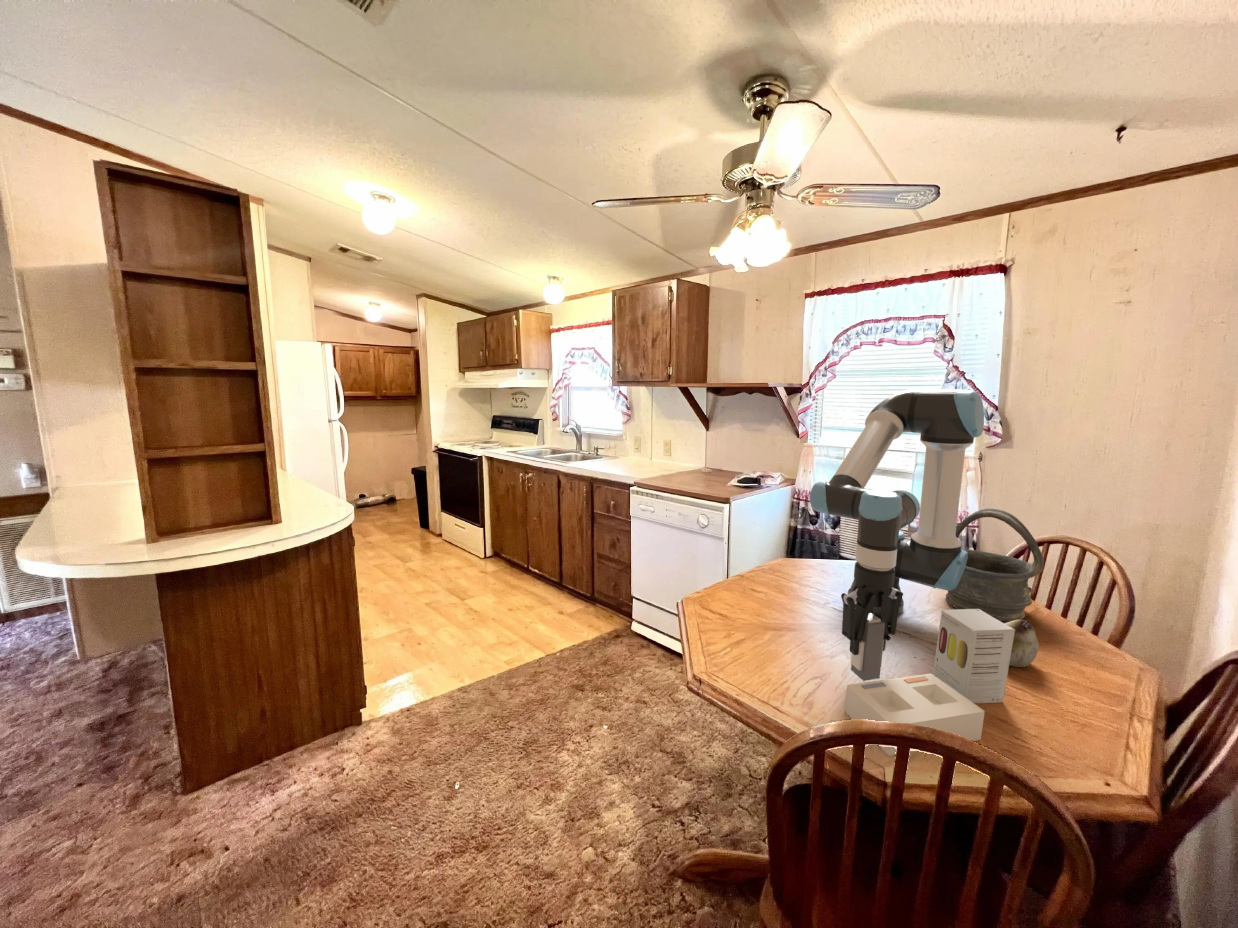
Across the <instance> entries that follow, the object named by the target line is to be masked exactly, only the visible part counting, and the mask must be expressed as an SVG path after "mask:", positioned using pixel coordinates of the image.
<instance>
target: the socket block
mask: <svg viewBox="0 0 1238 928" xmlns="http://www.w3.org/2000/svg"><path fill="white" fill-rule="evenodd" d="M844 705H845V706H844V713H845V714H846V715H847V716H848V715H849V716H848V717H849V718H850V719H868V720H875V721H889V722H897V723H909V724H914V725H919V726H924V727H930V728H935V729H939V730H942V731H947V732H950V733H955V734H956V735H960V736H961V737H964V738H967V739H969V740H973V741H972V742H976V741H981V739H982V733H983V725H984V721H985V720H984V719H985V713H986V711H985V710H984V709H983V708H982V707H980V706H978V705H977V704H976V703H975V704H974V703H972V702H971V701H970V700H968V699H967V698H965V697H964V696H962V695H961V694H960V693H958V692H957V691H955V690H954V689H953V688H951V687H950V686H948V685H947V684H945V683H944V682H943V681H941V680H940V679H938V678H937V677H935V676H934V675H933V673H924V674H916V675H910V676H903V677H902V676H901V677H894V678H888V679H879V680H873V681H866V682H865V681H864V682H858V683H853V684H852V683H851V684H847V685H846V694H845V704H844ZM878 747H879V748H880V749H881V750H882V751H883V752H884V753H885V754H886V755H887V756H888V757H892V756H896V755H895V752H896V749H895V748H894V747H882V746H878ZM915 752H916V751H910V752H909V753H915Z"/></svg>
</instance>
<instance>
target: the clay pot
mask: <svg viewBox="0 0 1238 928" xmlns="http://www.w3.org/2000/svg"><path fill="white" fill-rule="evenodd" d="M983 518H991V519H993V518H994V519H997V520H999V521H1001V522H1004V523H1005V524H1007V525H1008V526H1009V527H1011V528H1012V529H1013V530H1014V531H1015V532H1017V533H1018V534H1019V535H1020V536H1021V537H1022V538H1023V540H1024V541H1025V543H1026V544H1027V546H1028V548H1029V549H1030V552H1031V554H1032V556H1033V562H1028V561H1025V560H1021V559H1019V558H1015V557H1012V556H1008V555H1003V554H999V553H993V552H988V551H987V552H986V551H982V550H975V549H963V550H964V551H966V552H967V553H968V559H967V563H966V566H965V569H964V572H963V575H962V577H961V579H960V581H959V583H958V585H957V587H956V588H955V589H953V590H950V591H947V593H946V594H945V601H946V602H947V603H948V604H950V605H951V606H952V607H954V608H955V609H980V610H982V611H983V612H985V613H987V614H988V615H990V616H992V617H993V618H995V619H997V620H999V621H1000V622H1003V621H1004V622H1011V621H1014V620H1024V619H1023V618H1025V616H1026V613H1025V609H1026V608H1027V607H1029V606H1031V605H1032V604H1033V600H1032V598H1031V593H1032V592H1033V589H1032V588H1031V587H1030V586H1029V579H1031V578H1034V577H1036V576H1038V575H1040V574H1041V573H1042V572H1043V571H1044V566H1045V563H1044V557H1043V554H1042V552H1041V549H1040V547H1039V545H1038V543H1037V541H1036V539H1035V538H1034V536H1033V535H1032V534H1031V532H1030V531H1029V529H1028V528H1027V526H1025V525H1024V523H1023V522H1022V521H1021V520H1019V519H1018V517H1016V516H1015V515H1013V514H1012V513H1010V512H1008V511H1006V510H1003V509H1000V508H983V509H980V510H978V511H975V512H973V513H971V514H970V515H968V516H966V517H965V518H964V519H963V520H961V521H960V522H959V523H958V524H957V525H956V534H955V536H956V537H957V538H958V539H959V537H960V535H961V534H962V532H963V531H964V530H965V528H967V527H968V526H969V525H970V524H971V523H973V522H975V521H976V520H979V519H983Z"/></svg>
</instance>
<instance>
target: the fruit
mask: <svg viewBox="0 0 1238 928" xmlns="http://www.w3.org/2000/svg"><path fill="white" fill-rule="evenodd" d="M1003 623H1004V622H1003ZM1004 624H1006V625H1008V626H1009V627H1011V628H1013V629H1015V633H1014V639H1013V645H1012V650H1011V657H1010V663H1009V667H1010V666H1012V667H1015V668H1023V667H1027V666H1029V665H1031V664H1032V663H1033V661H1034V660H1035V659H1036V657H1037V656H1038V654H1037V653H1038V652H1039V650H1040V649H1039V648H1040V646H1039V645H1040V644H1039V641H1038V637H1037V634H1036V630H1035V628H1034V625H1032V623H1030V621H1029V620H1024V619H1021V620H1014V621H1006V622H1005V623H1004Z"/></svg>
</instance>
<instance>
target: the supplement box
mask: <svg viewBox="0 0 1238 928" xmlns="http://www.w3.org/2000/svg"><path fill="white" fill-rule="evenodd" d="M940 613H941V614H940V621H939V628H938V633H937V634H938V635H937V643H936V649H935V654H934V655H935V657H934V664H933V669H932V670H933V671H932V674H933V675H934V676H935V677H937V678H938V679H940V680H941V681H943V682H944V683H945V684H947V685H948V686H950V687H951V688H953V689H954V690H955V691H957V692H958V693H960V694H961V695H962V696H964V697H965V698H967V699H968V700H970V701H971V702H972V703H974V704H975V705H976V704H991V703H994V704H996V703H1004V699H1005V692H1006V685H1007V680H1008V674H1009V668H1010V665H1009V663H1010V657H1011V650H1012V645H1013V639H1014V633H1015V629H1013V628H1011V627H1009V626H1008V625H1006V624H1004V622H1003V621H999V620H997V619H995V618H993V617H992V616H990V615H988V614H987V613H985V612H983V611H982V610H980V609H957V608H955V609H942V610H941V612H940Z"/></svg>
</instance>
